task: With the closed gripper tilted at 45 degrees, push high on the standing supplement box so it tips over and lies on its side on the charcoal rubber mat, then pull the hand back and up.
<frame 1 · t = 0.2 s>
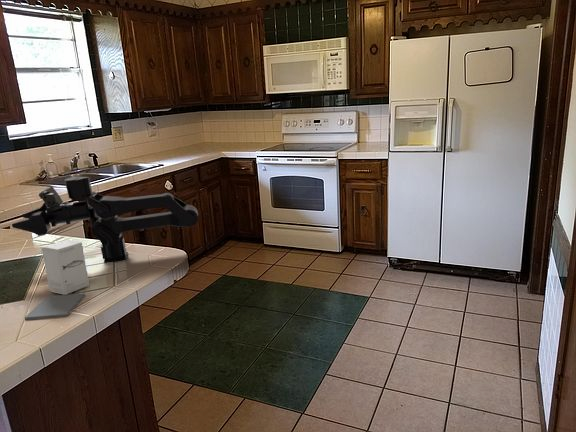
hand: (17, 220, 132), 16 cm above the countertop, tool horizontal, fingers open, 9 cm apart
rubber mat: (56, 306, 111), on the countertop
supplement box: (70, 289, 120), on the countertop, touching rubber mat
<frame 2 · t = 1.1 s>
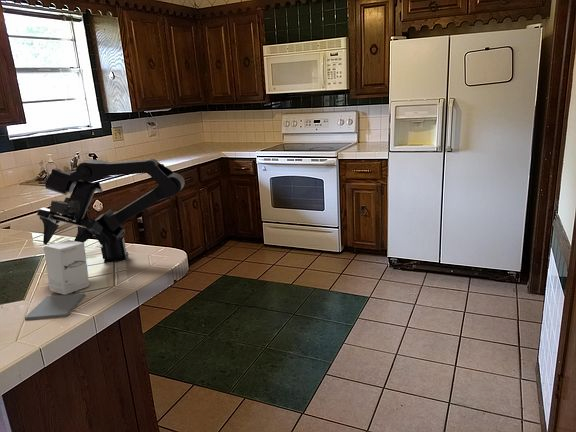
hand: (58, 247, 128), 9 cm above the countertop, tool tilted 40°, fingers open, 9 cm apart
nothing on the countertop moved.
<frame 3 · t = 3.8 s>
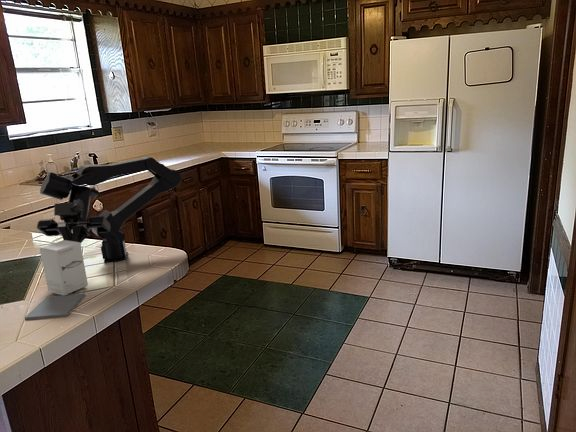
hand: (69, 253, 122), 9 cm above the countertop, tool tilted 45°, fingers closed
supplement box: (68, 289, 119), on the countertop, touching gripper
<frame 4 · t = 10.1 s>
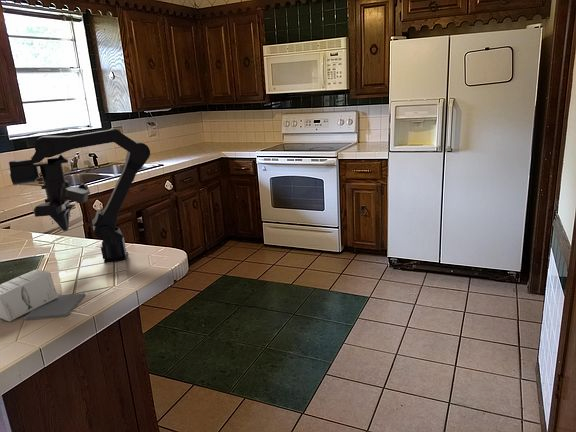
hand: (65, 230, 133), 12 cm above the countertop, tool pointing down, fingers closed
supplement box: (48, 282, 115), point 4 cm above the countertop, touching rubber mat
at the end: supplement box tilted 94°; supplement box touching rubber mat, countertop; supplement box 6.8 cm from the rubber mat (horizontally) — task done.
